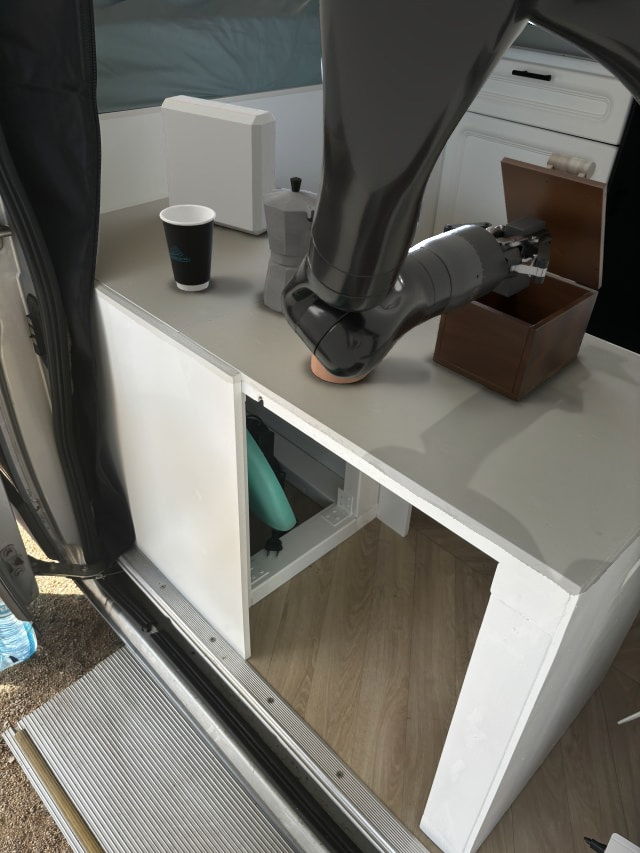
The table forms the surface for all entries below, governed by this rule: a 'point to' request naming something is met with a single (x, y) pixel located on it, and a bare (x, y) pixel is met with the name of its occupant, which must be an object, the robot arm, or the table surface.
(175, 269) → the dixie cup
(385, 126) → the robot arm
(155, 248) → the table surface
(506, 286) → the tall charcoal box
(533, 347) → the chest
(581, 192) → the lid
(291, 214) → the coffeepot
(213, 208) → the bevelled white case
